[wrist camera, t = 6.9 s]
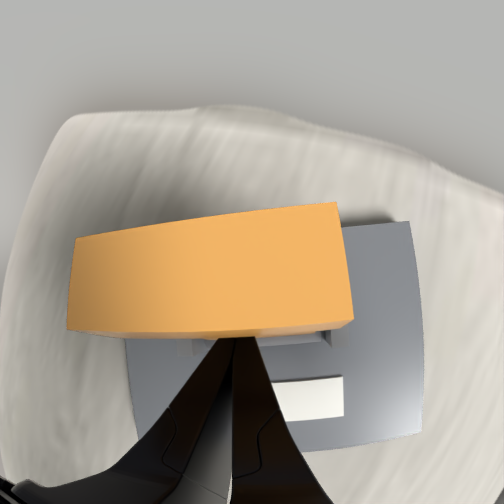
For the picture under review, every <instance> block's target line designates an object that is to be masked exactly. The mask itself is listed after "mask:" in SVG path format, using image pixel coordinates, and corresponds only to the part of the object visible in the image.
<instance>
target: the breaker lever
mask: <svg viewBox="0 0 504 504" xmlns="http://www.w3.org/2000/svg"><path fill="white" fill-rule="evenodd" d="M352 320H354V314H353V305H352V297H351V289H350V281H349V274H348V267H347V260H346V254H345V248H344V241H343V236H342V230H341V224H340V219H339V213H338V208H337V203H336V202H330V203H319V204H309V205H300V206H290V207H281V208H272V209H264V210H255V211H247V212H239V213H231V214H224V215H216V216H209V217H202V218H195V219H188V220H181V221H174V222H167V223H161V224H155V225H148V226H142V227H136V228H130V229H124V230H118V231H112V232H106V233H101V234H95V235H90V236H84V237H79V238H76V240H75V246H74V253H73V260H72V268H71V276H70V285H69V296H68V310H67V330H72V331H78V332H83V333H88V334H94V335H100V336H106V337H112V338H135V339H204V342H205V345H206V346H207V348H209V349H211V347H212V346H213V344H214V343H215V342H216V340H217V339H218V338H232V337H251V336H255V338H256V340H257V343H258V346H259V347H262V346H277V345H289V344H301V343H311V342H321V331H323V330H331V329H340V328H341V327H343V326H344V325H346V324H348V323H349V322H351V321H352Z"/></svg>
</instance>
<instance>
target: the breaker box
mask: <svg viewBox="0 0 504 504" xmlns="http://www.w3.org/2000/svg"><path fill="white" fill-rule="evenodd" d="M341 230H342V236H343V241H344V248H345V254H346V260H347V267H348V274H349V281H350V289H351V297H352V305H353V314H354V320H352V321H351V322H349V323H348V324H346V325H344V326H343V327H341V328H340V329H331V330H323V331H321V342H311V343H301V344H289V345H277V346H262V347H259V349H260V352H261V355H262V358H263V361H264V363H265V366H266V369H267V372H268V375H269V378H270V381H271V383H272V386H273V389H274V392H275V395H276V397H277V400H278V403H279V406H280V409H281V411H282V414H283V416H284V419H285V422H286V424H287V426H288V429H289V431H290V434H291V436H292V437H293V439H294V441H295V443H296V445H297V447H298V449H299V451H300V452H312V451H322V450H331V449H340V448H347V447H353V446H360V445H366V444H371V443H376V442H381V441H386V440H391V439H395V438H400V437H404V436H408V435H412V434H416V433H419V432H421V428H422V415H423V396H424V341H423V322H422V309H421V298H420V288H419V280H418V272H417V265H416V258H415V251H414V245H413V239H412V234H411V229H410V223H409V221H403V222H392V223H382V224H371V225H361V226H350V227H341ZM125 344H126V355H127V365H128V374H129V383H130V390H131V398H132V404H133V411H134V417H135V423H136V428H137V434H138V439H139V440H140V439H141V438H142V437H143V436H144V435H145V434H146V432H147V431H148V430H149V429H150V428H151V427H152V426H153V424H154V423H155V422H156V421H157V420H158V418H159V417H160V416H161V415H162V413H163V412H164V411H165V409H166V408H167V407H168V405H169V404H170V403H171V401H172V400H173V399H174V397H175V396H176V395H177V393H178V392H179V391H180V389H181V388H182V387H183V385H184V384H185V383H186V381H187V380H188V379H189V377H190V376H191V374H192V373H193V372H194V370H195V369H196V368H197V366H198V365H199V364H200V362H201V361H202V360H203V358H204V357H205V355H206V354H207V353H208V351H209V350H210V349H209V348H207V346H206V345H205V342H204V339H135V338H125ZM168 408H169V407H168Z"/></svg>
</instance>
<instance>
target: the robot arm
mask: <svg viewBox="0 0 504 504" xmlns="http://www.w3.org/2000/svg"><path fill="white" fill-rule="evenodd" d="M168 407H169V408H168ZM168 407H167V408H166V409H165V411H164V412H163V413H162V415H161V416H160V417H159V418H158V420H157V421H156V422H155V423H154V424H153V426H152V427H151V428H150V429H149V430H148V431H147V432H146V434H145V435H144V436H143V437H142V438H141V439H140V440H139V441H138V442H137V443H136V444H135V445H134V446H133V447H132V448H131V449H130V450H129V451H128V452H127V453H126V454H125V455H124V456H123V457H122V458H121V459H120V460H119V461H118V462H117V463H116V464H114V465H113V466H112V467H110V468H109V469H107V470H105V471H103V472H101V473H98V474H96V475H93V476H90V477H87V478H84V479H81V480H77V481H74V482H71V483H68V484H64V485H61V486H57V487H48V488H47V487H44V486H42V485H40V484H38V483H36V482H34V481H32V480H30V479H26V480H24V481H22V482H19V483H17V484H14V483H12V482H11V481H9V480H7V479H5V478H3V477H2V476H0V504H227V500H226V499H227V498H228V491H229V485H230V479H231V472H232V479H233V480H232V493H231V500H230V504H334V503H333V502H332V501H331V499H330V498H329V497H328V495H327V494H326V493H325V491H324V490H323V488H322V487H321V485H320V484H319V482H318V481H317V479H316V477H315V476H314V474H313V473H312V471H311V469H310V468H309V466H308V464H307V462H306V461H305V459H304V457H303V456H302V454H301V452H300V451H299V449H298V447H297V445H296V443H295V441H294V439H293V437H292V436H291V434H290V431H289V429H288V426H287V424H286V422H285V419H284V416H283V414H282V411H281V409H280V406H279V403H278V400H277V397H276V395H275V392H274V389H273V386H272V383H271V381H270V378H269V375H268V372H267V369H266V366H265V363H264V361H263V358H262V355H261V352H260V349H259V346H258V343H257V340H256V338H255V336H251V337H232V338H218V339H217V340H216V342H215V343H214V344H213V346H212V347H211V349H210V350H209V351H208V353H207V354H206V355H205V357H204V358H203V360H202V361H201V362H200V364H199V365H198V366H197V368H196V369H195V370H194V372H193V373H192V374H191V376H190V377H189V379H188V380H187V381H186V383H185V384H184V385H183V387H182V388H181V389H180V391H179V392H178V393H177V395H176V396H175V397H174V399H173V400H172V401H171V403H170V404H169V405H168Z"/></svg>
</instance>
